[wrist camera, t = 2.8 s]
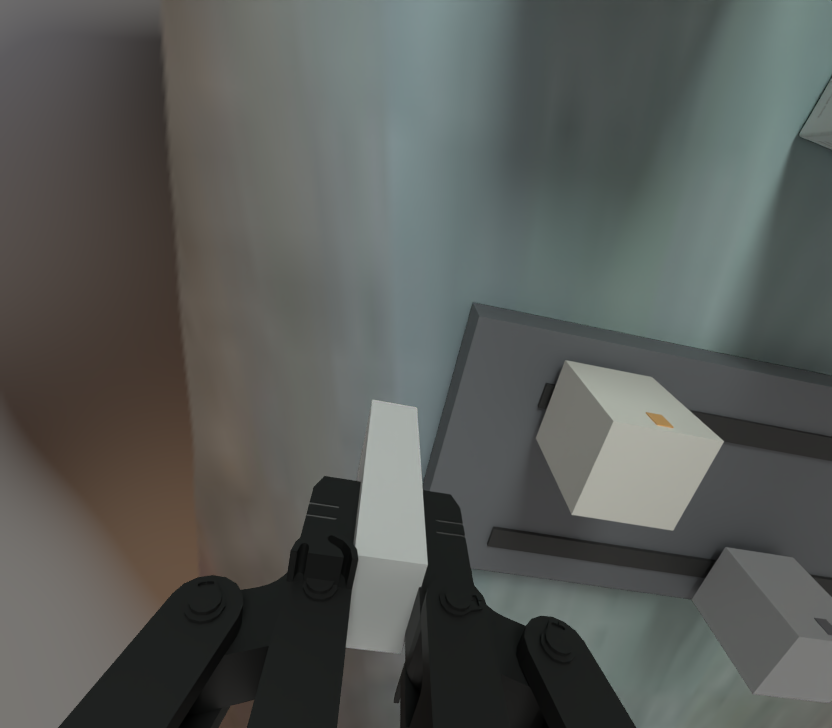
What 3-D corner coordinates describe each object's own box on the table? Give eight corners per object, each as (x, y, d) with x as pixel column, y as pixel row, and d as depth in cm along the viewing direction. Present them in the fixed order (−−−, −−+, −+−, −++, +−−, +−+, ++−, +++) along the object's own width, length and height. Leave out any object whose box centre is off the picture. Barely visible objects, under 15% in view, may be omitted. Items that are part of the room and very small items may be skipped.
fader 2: (726, 546, 24) (799, 635, 20) (793, 556, 25) (881, 647, 20) (691, 600, 26) (752, 694, 21) (755, 609, 26) (828, 703, 22)
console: (472, 302, 21) (483, 324, 18) (989, 408, 24) (1064, 440, 22) (409, 532, 27) (410, 575, 24) (837, 595, 30) (880, 639, 27)
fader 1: (565, 359, 20) (614, 419, 15) (652, 375, 20) (725, 440, 16) (535, 438, 21) (571, 515, 17) (616, 453, 22) (672, 531, 17)
